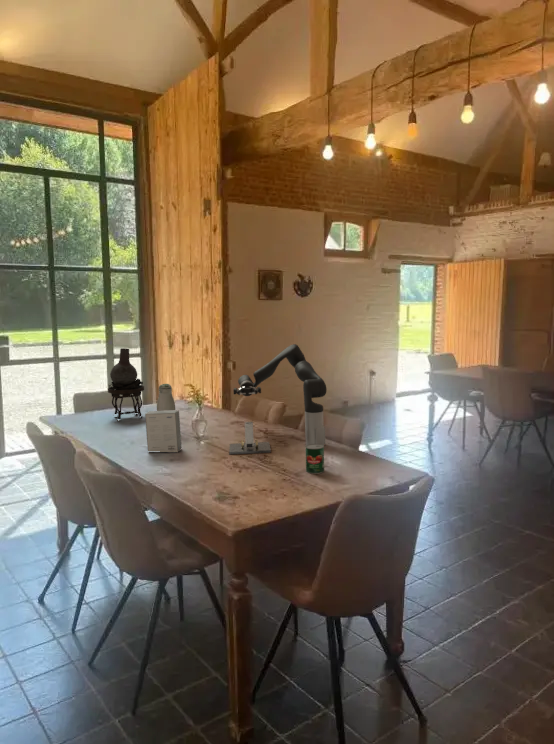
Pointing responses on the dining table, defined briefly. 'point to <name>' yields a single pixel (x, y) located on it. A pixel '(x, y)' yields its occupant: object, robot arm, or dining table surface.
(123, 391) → the brazier
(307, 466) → the canned tomato
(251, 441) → the block
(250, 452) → the pin tray
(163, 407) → the grey bottle
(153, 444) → the hard drive box
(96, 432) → the dining table surface
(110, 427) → the dining table surface
